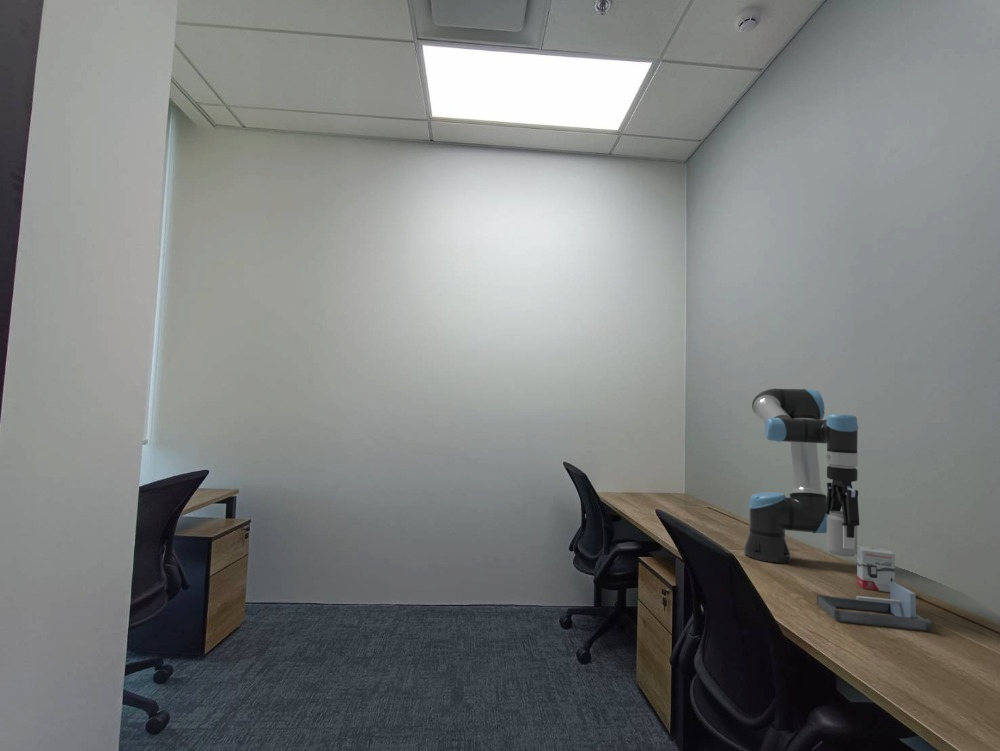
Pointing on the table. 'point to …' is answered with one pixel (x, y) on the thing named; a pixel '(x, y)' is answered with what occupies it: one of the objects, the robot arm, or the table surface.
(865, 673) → the table surface
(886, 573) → the ink box
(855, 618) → the frame
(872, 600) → the pusher
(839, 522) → the can
